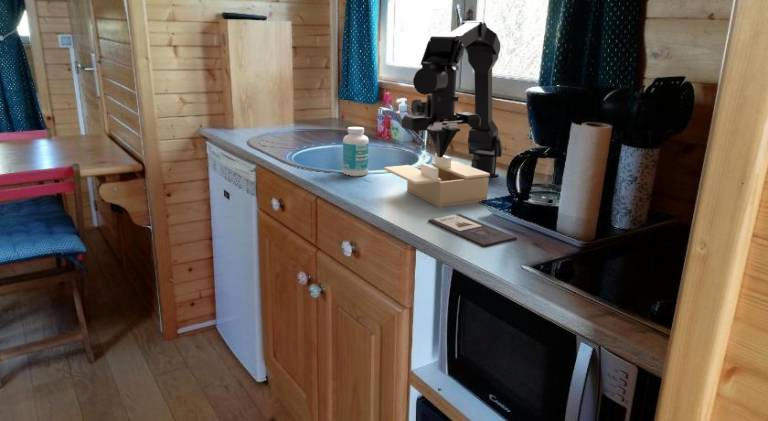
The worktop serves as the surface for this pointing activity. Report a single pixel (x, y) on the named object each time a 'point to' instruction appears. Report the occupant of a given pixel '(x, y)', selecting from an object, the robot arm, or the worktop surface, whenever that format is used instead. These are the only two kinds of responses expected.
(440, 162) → the inner lid
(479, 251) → the worktop surface
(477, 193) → the carton
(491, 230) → the chocolate bar
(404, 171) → the outer lid
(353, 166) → the pill bottle
